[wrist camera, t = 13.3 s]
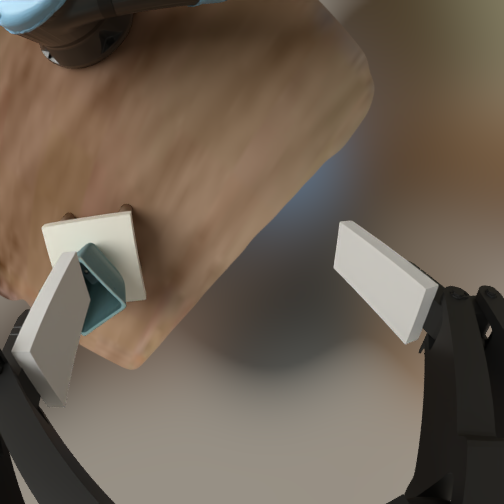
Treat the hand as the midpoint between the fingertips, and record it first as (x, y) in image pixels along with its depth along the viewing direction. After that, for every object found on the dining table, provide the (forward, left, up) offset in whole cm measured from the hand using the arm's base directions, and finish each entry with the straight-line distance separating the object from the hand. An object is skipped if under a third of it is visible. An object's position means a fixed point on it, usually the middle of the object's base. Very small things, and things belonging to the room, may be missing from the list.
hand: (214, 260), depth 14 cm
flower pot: (+13, -15, -27) cm, 33 cm away
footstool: (+13, -15, -35) cm, 40 cm away
